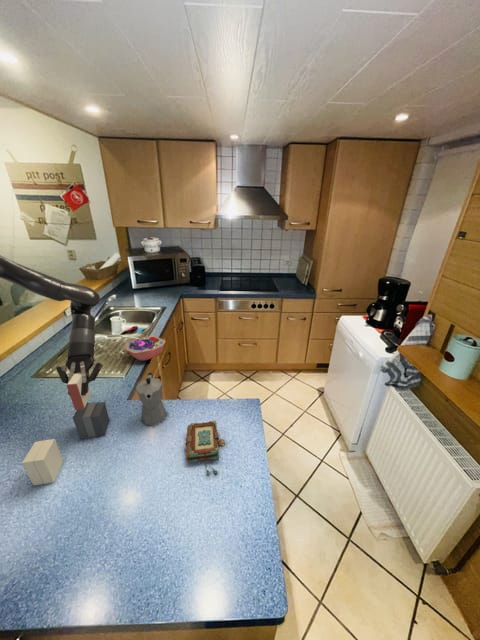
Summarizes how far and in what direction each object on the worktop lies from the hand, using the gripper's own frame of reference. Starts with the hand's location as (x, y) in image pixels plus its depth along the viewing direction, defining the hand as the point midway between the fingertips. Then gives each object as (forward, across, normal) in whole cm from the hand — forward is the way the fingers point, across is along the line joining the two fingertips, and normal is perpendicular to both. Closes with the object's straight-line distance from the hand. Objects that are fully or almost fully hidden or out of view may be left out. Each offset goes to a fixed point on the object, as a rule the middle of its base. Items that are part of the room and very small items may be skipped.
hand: (77, 395), depth 80 cm
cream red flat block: (+2, 0, +5) cm, 5 cm away
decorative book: (+23, +39, +5) cm, 45 cm away
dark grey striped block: (+11, 0, +17) cm, 20 cm away
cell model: (-22, +13, +50) cm, 56 cm away
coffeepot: (+8, +20, +19) cm, 29 cm away
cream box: (+21, -9, +6) cm, 24 cm away
